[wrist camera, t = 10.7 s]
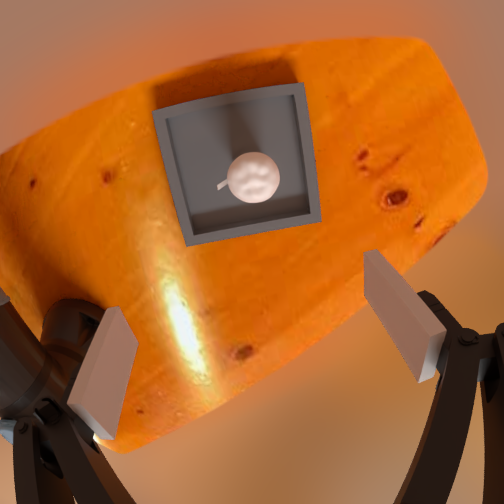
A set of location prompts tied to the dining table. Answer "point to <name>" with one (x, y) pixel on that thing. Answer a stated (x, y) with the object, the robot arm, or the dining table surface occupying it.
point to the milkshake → (252, 176)
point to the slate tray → (223, 153)
